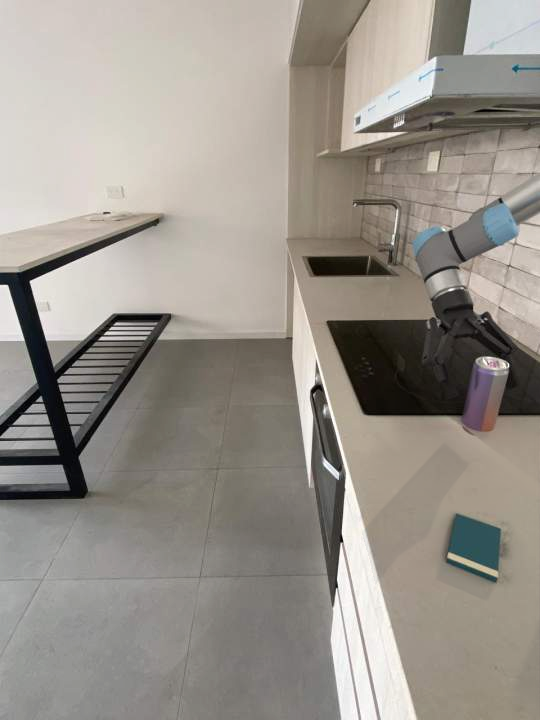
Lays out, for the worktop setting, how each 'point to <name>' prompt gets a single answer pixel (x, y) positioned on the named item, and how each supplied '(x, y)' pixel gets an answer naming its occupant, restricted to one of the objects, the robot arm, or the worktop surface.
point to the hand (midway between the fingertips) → (484, 392)
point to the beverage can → (485, 394)
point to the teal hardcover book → (475, 547)
